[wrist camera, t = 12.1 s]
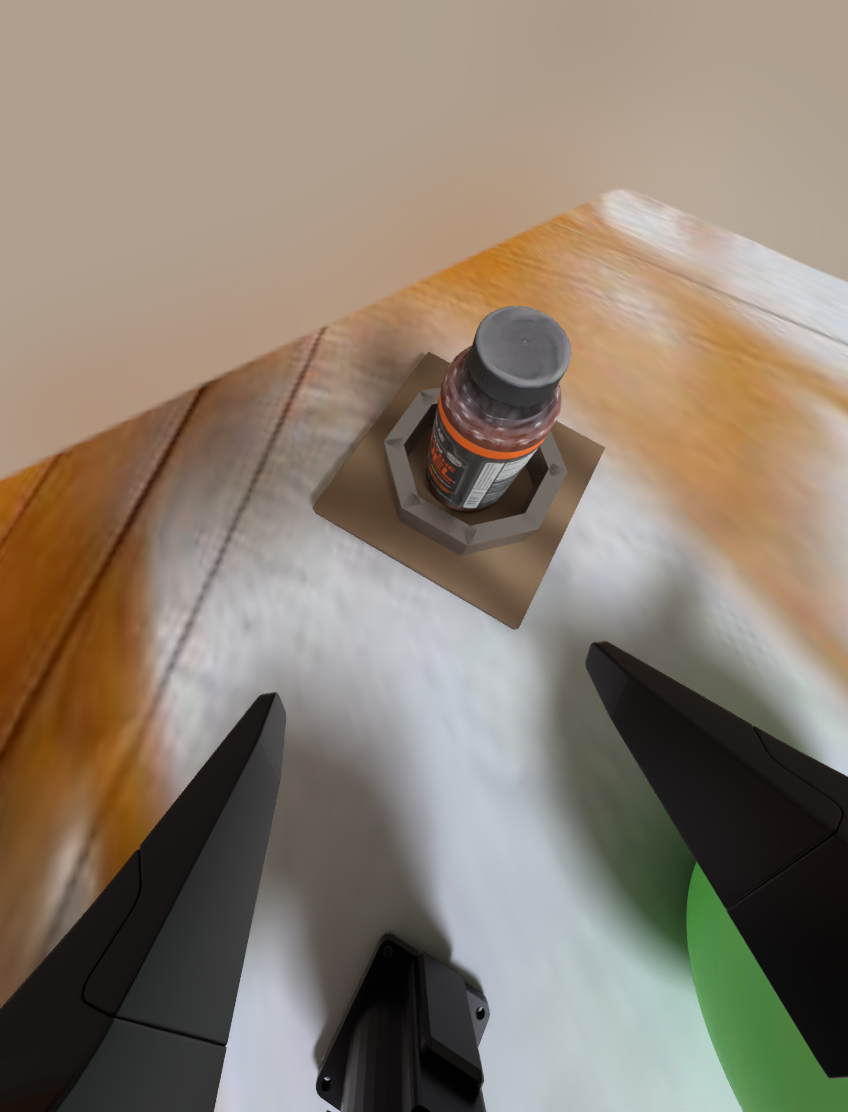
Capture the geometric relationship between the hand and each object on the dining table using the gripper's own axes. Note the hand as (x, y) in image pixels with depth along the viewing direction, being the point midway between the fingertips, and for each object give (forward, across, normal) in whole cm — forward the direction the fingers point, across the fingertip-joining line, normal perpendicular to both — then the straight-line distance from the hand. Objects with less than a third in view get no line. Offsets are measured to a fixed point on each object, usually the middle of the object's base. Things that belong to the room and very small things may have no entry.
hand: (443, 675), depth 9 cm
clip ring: (+17, -6, 0) cm, 18 cm away
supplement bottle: (+17, -5, 0) cm, 18 cm away
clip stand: (+17, -6, 0) cm, 18 cm away
